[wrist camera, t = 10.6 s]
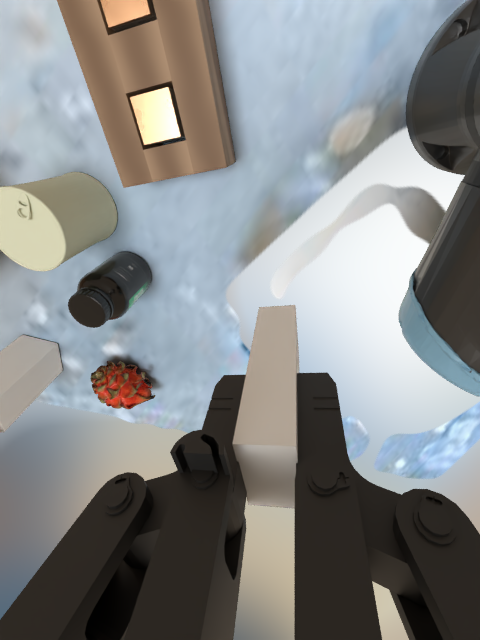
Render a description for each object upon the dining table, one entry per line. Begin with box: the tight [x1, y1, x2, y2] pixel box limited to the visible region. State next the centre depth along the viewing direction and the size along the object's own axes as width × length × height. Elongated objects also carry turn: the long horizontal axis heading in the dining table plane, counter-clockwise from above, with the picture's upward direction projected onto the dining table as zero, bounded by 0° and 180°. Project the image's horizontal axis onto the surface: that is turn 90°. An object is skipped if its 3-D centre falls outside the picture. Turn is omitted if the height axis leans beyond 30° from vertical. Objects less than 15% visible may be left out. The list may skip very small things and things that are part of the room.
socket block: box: [57, 0, 236, 188], centre depth 30 cm, size 12×20×6 cm, turn 11°
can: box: [0, 172, 117, 271], centre depth 37 cm, size 9×9×12 cm
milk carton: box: [0, 335, 63, 433], centre depth 51 cm, size 7×7×19 cm
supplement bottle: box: [68, 252, 151, 328], centre depth 41 cm, size 7×7×12 cm
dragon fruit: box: [91, 361, 155, 409], centre depth 55 cm, size 8×8×12 cm
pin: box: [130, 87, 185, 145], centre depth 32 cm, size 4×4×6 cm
